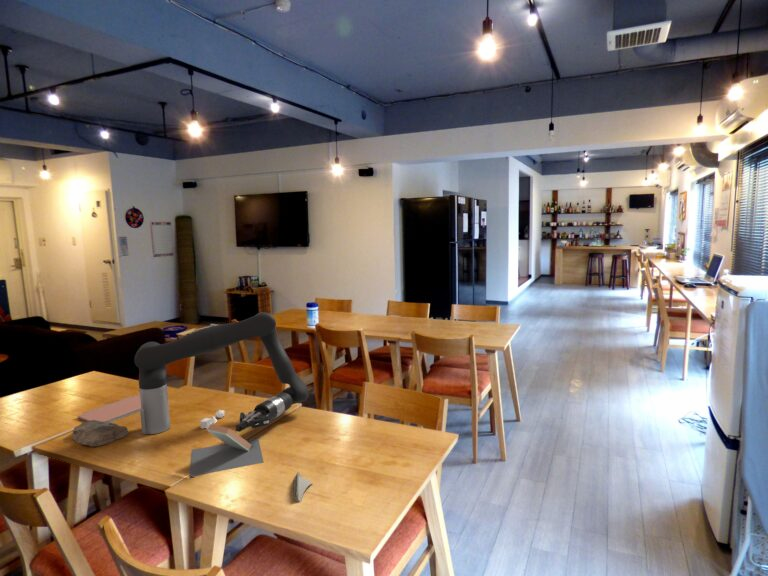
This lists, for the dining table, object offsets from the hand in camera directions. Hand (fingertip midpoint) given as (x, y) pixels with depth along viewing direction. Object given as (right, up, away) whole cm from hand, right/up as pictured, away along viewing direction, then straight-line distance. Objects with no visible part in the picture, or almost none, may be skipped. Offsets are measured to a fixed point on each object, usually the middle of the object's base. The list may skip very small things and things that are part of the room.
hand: (237, 428), depth 154 cm
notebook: (-61, -4, +38) cm, 72 cm away
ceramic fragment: (+25, -11, -21) cm, 34 cm away
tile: (+1, -6, +2) cm, 7 cm away
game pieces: (-17, -5, +25) cm, 31 cm away
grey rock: (-56, -7, +14) cm, 59 cm away
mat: (-3, -8, -3) cm, 9 cm away
